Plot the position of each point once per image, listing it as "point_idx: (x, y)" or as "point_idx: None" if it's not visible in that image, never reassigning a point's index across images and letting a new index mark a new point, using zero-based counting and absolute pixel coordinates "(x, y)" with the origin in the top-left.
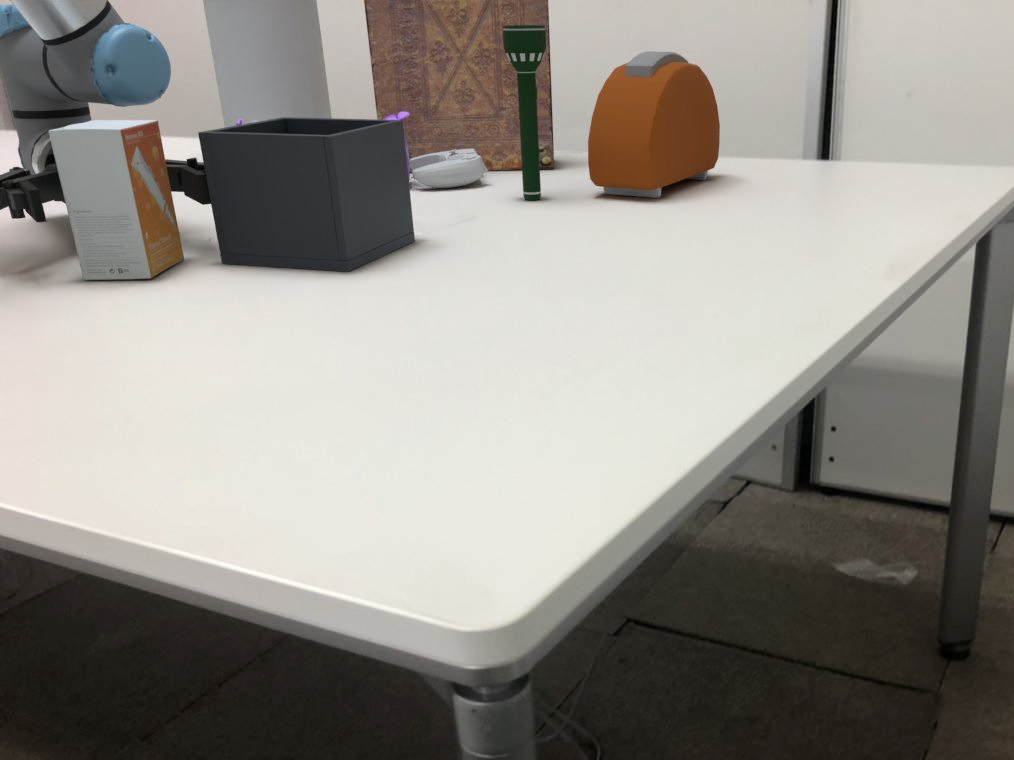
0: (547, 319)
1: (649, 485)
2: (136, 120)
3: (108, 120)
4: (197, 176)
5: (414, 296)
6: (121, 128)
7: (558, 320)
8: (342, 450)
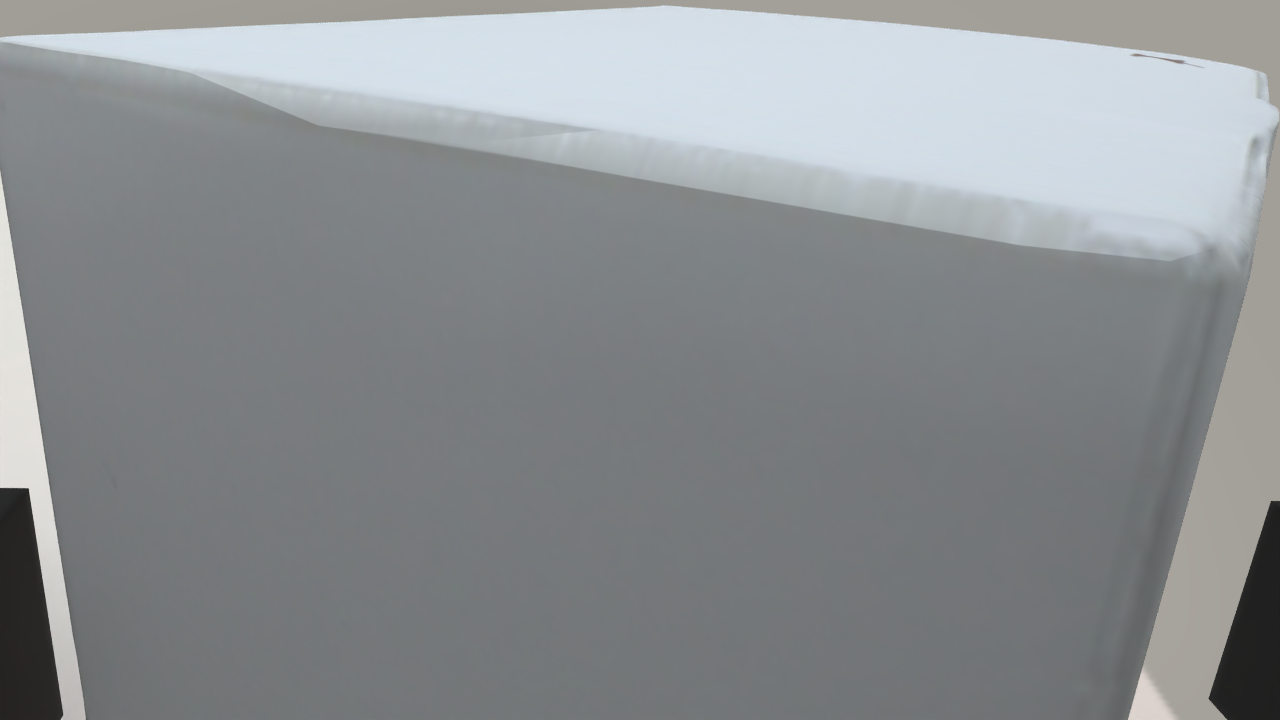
0: (10, 252)
1: None
2: (282, 61)
3: (747, 119)
4: (30, 502)
5: (16, 374)
6: (650, 8)
7: (4, 247)
8: None
